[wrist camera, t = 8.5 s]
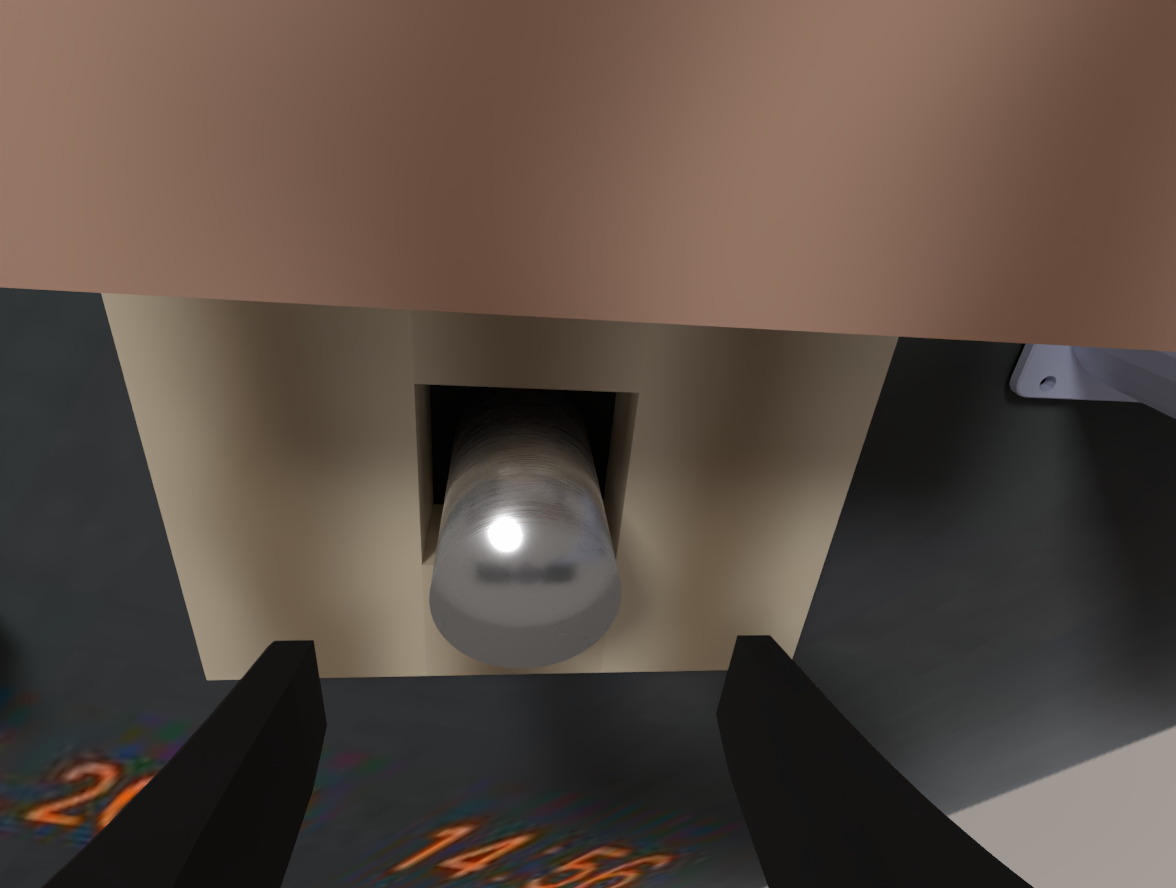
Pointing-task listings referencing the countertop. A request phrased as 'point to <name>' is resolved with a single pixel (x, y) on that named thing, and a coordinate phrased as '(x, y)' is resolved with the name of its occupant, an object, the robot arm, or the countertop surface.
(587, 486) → the steel peg
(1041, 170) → the socket block
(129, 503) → the countertop surface
